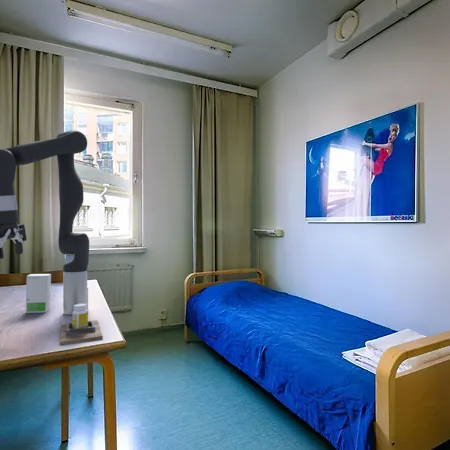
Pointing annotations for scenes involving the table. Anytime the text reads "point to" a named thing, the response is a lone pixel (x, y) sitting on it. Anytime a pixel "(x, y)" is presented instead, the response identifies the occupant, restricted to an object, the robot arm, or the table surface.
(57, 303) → the table surface
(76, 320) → the supplement bottle
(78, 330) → the seat board
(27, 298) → the skincare box
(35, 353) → the table surface
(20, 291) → the table surface
